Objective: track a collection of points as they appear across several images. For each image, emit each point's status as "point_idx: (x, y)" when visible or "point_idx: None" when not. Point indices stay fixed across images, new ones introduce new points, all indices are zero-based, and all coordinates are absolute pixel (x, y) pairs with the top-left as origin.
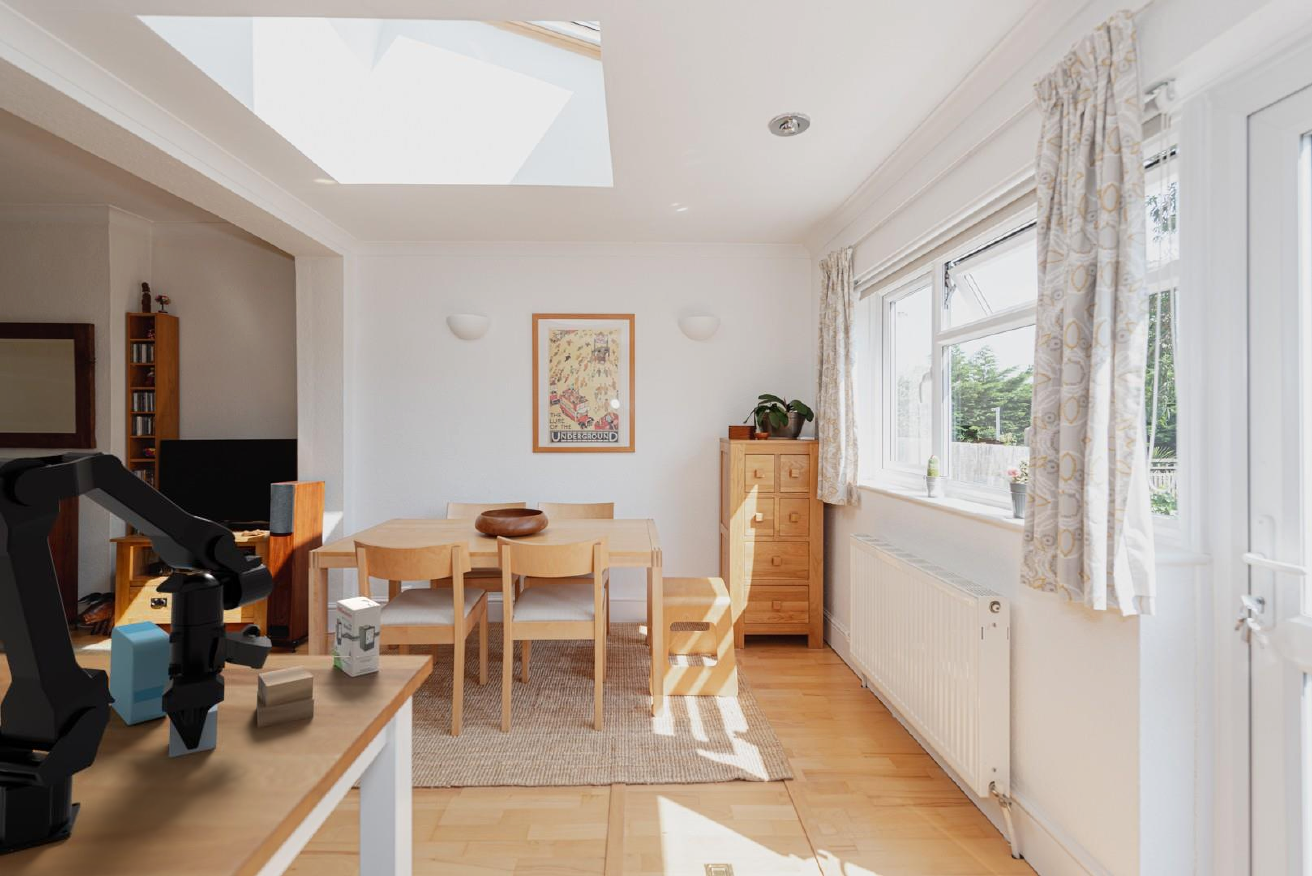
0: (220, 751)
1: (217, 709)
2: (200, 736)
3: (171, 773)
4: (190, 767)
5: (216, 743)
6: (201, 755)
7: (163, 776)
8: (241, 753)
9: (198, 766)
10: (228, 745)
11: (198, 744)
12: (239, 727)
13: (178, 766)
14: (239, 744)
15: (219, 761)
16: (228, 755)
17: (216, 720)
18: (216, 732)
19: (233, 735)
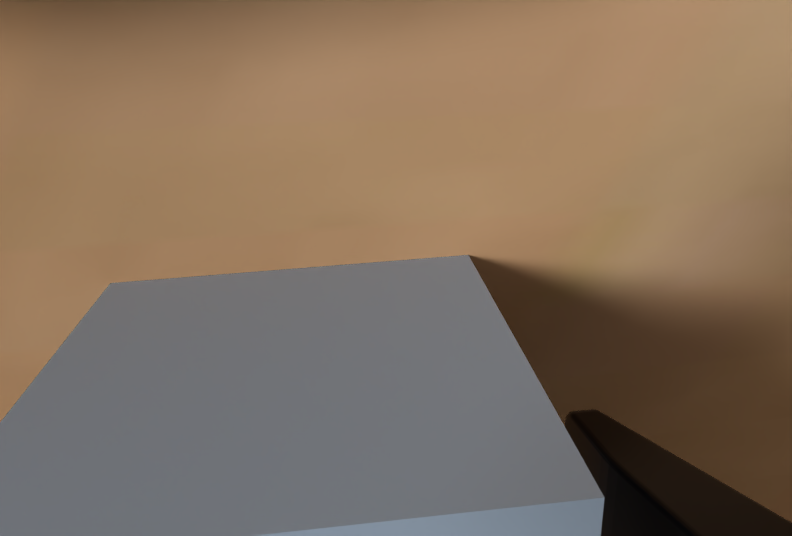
0: (568, 218)
1: (550, 506)
2: (690, 465)
3: (736, 472)
4: (724, 385)
5: (475, 269)
6: (560, 342)
7: None
8: (724, 43)
9: (744, 340)
10: (475, 163)
11: (617, 423)
12: (49, 82)
13: None
14: (507, 67)
15: (761, 210)
16: (692, 150)
17: (552, 406)
18: (499, 321)
19: (251, 131)
